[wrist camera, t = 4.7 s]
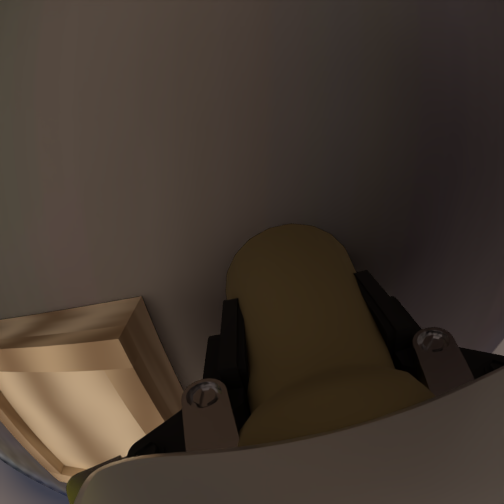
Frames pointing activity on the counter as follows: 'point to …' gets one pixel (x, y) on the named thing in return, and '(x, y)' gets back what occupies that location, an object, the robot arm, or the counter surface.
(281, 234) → the cork
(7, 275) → the counter surface
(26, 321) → the stand
